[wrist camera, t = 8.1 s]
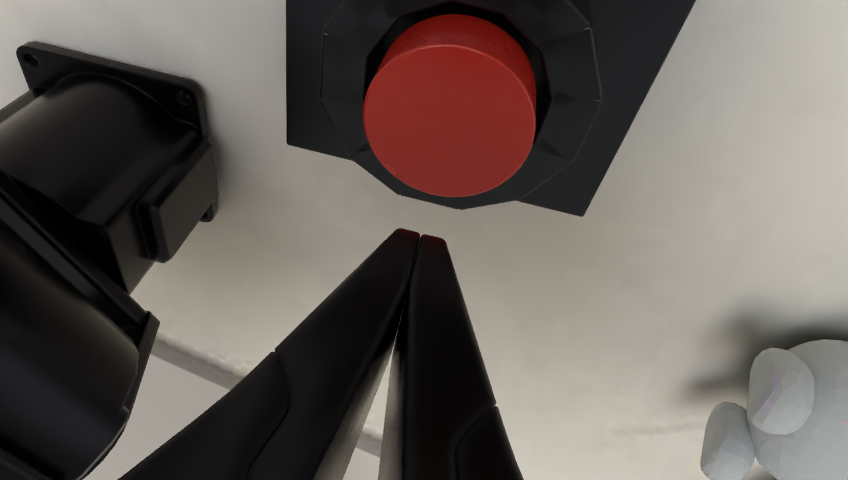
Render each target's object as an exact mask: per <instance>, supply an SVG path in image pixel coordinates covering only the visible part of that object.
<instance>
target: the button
mask: <svg viewBox="0 0 848 480" xmlns="http://www.w3.org/2000/svg"><path fill="white" fill-rule="evenodd" d="M363 121H364V128H365V132H366V136H367V139H368V142H369V144H370V147H371V148H372V150H373V152H374V154H375V155H376V157H377V158H378V160H379V161H380V162H381V164H382V165H383V166H384V167H385V168H386V169H387V170H388V171H389V172H390V173H391V174H393V175H394V176H395V177H396V178H398V179H399V180H400V181H402V182H403V183H405V184H407V185H409V186H411V187H413V188H415V189H417V190H420V191H422V192H426V193H429V194H433V195H438V196H446V197H464V196H471V195H476V194H480V193H483V192H486V191H488V190H491V189H493V188H495V187H497V186H499V185H500V184H502V183H503V182H505V181H506V180H508V179H509V178H510V177H511V176H512V175H513V174H515V173H516V171H517V170H518V169H519V168H520V167H521V166H522V164H523V163H524V161H525V160H526V158H527V156H528V154H529V152H530V150H531V148H532V144H533V141H534V136H535V129H536V81H535V75H534V72H533V68H532V65H531V63H530V61H529V59H528V57H527V55H526V53H525V52H524V50H523V49H522V47H521V46H520V45H519V44H518V43H517V41H516V40H515V39H514V38H513V37H512V36H510V35H509V34H508V33H507V32H506V31H504V30H503V29H501V28H500V27H498V26H497V25H495V24H493V23H491V22H489V21H487V20H484V19H481V18H478V17H474V16H469V15H462V14H447V15H439V16H435V17H431V18H428V19H425V20H422V21H420V22H418V23H416V24H414V25H413V26H411V27H409V28H408V29H407V30H405V31H404V32H403V33H402V34H401V35H400V36H399V37H398V38H397V39H396V40H395V41H394V42H393V43H392V45H391V46H390V48H389V49H388V51H387V53H386V55H385V57H384V59H383V60H382V62H381V64H380V66H379V68H378V70H377V72H376V74H375V76H374V78H373V80H372V82H371V84H370V86H369V88H368V91H367V94H366V97H365V101H364V107H363Z"/></svg>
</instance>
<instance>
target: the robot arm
mask: <svg viewBox="0 0 848 480" xmlns="http://www.w3.org/2000/svg"><path fill="white" fill-rule="evenodd" d="M16 53H17V58H18V60H19V63H20V66H21V68H22V71H23V74H24V76H25V79H26V82H27V84H28V87H29V91H28V92H26V93H25V94H23V95H22V96H20V97H19V98H17V99H16V100H14V101H13V102H11V103H10V104H8V105H7V106H5V107H4V108H2V109H1V110H0V480H82V479H84V478H85V477H86V476H87V475H89V474H90V472H92V471H93V470H94V469H95V468H96V467H97V466H98V465H99V464H100V463H101V462H102V461H103V460H104V458H105V457H106V456H107V455H108V453H109V452H110V451H111V450H112V448H113V447H114V446H115V444H116V443H117V441H118V439H119V438H120V436H121V435H122V433H123V431H124V429H125V427H126V424H127V422H128V420H129V417H130V414H131V411H132V408H133V404H134V402H135V399H136V395H137V392H138V389H139V386H140V383H141V380H142V377H143V373H144V371H145V368H146V364H147V361H148V358H149V355H150V352H151V349H152V346H153V343H154V340H155V337H156V334H157V330H158V327H159V324H160V321H159V320H158V319H157V318H156V317H155V316H154V315H153V314H152V313H151V312H150V311H145V310H144V309H143V308H142V307H141V306H140V305H139V304H138V303H137V302H136V301H135V300H134V299H133V298H132V297H131V296H130V294H131V293H132V291H133V290H134V289H135V287H136V286H137V285H138V283H139V282H140V281H141V279H142V278H143V277H144V275H145V274H146V273H147V271H148V270H149V269H150V267H151V266H152V265H153V263H154V262H155V261H156V262H160V263H165V262H167V261H169V260H170V259H171V258H172V257H173V256H174V254H175V253H176V252H177V250H178V249H179V248H180V246H181V245H182V243H183V242H184V241H185V239H186V238H187V237H188V235H189V234H190V232H191V231H192V230H193V228H194V227H195V226H196V224H197V223H198V221H202V222H210V221H212V220H213V218H214V217H215V215H216V214H217V202H216V197H217V195H218V184H217V176H216V167H215V159H214V151H213V145H212V143H211V141H210V140H209V139H208V131H207V123H206V115H205V107H204V100H203V94H202V91H201V89H200V88H199V87H198V85H196V84H195V83H194V82H192V81H190V80H188V79H184V78H180V77H175V76H171V75H167V74H163V73H159V72H155V71H151V70H147V69H143V68H139V67H135V66H131V65H127V64H123V63H118V62H114V61H110V60H106V59H102V58H98V57H94V56H90V55H86V54H82V53H78V52H74V51H70V50H66V49H61V48H57V47H53V46H49V45H45V44H41V43H37V42H27V43H26V44H24V45H22V46H20V47H19V48H17V51H16ZM33 56H34V57H35V58H36V59H37V60H36V59H35V58H34V57H33ZM183 91H184V92H186V93H187V94H188V95H189V96H190V98H191V99H190V98H188V97H186V96H185V95H184V94H183ZM419 241H420V242H419ZM418 245H419V246H418ZM417 249H418V250H417ZM416 253H417V254H416ZM415 257H416V258H415ZM404 302H405V303H404ZM403 306H404V307H403ZM402 310H403V311H402ZM401 314H402V315H401ZM400 318H401V319H400ZM399 322H400V323H399ZM398 326H399V327H398ZM397 330H398V332H397ZM396 335H397V336H396ZM395 339H396V340H395ZM394 342H395V345H394ZM393 346H394V349H393ZM392 349H393V355H392V362H391V369H390V378H389V387H388V396H387V405H386V413H385V422H384V431H383V440H382V449H381V457H380V466H379V475H378V480H524V479H523V477H522V474H521V472H520V470H519V467H518V465H517V462H516V460H515V457H514V454H513V451H512V448H511V445H510V442H509V440H508V437H507V434H506V431H505V428H504V425H503V422H502V418H501V415H500V412H499V409H498V407H497V406H495V405H496V400H495V397H494V394H493V391H492V387H491V384H490V381H489V378H488V375H487V371H486V368H485V365H484V362H483V359H482V356H481V352H480V349H479V346H478V343H477V340H476V337H475V333H474V330H473V327H472V324H471V321H470V317H469V314H468V311H467V308H466V305H465V302H464V298H463V295H462V292H461V289H460V286H459V282H458V279H457V276H456V273H455V270H454V267H453V263H452V260H451V257H450V254H449V251H448V247H447V244H446V242H445V240H444V239H442V238H439V237H434V236H430V235H426V234H424V235H422V236H421V238H420V234H419V233H418V232H414V231H410V230H406V229H402V228H399V229H397V230H395V231H394V232H393V233H392V234H391V235H390V236H389V237H388V238H387V239H386V240H385V241H384V242H383V243H382V244H381V245H380V246H379V247H378V248H377V249H376V250H375V251H374V252H373V253H372V254H371V255H370V256H369V257H368V258H367V259H366V260H365V261H364V262H363V263H362V264H361V265H359V266H358V267H357V268H356V269H355V270H354V271H353V272H352V273H351V274H350V275H349V276H348V277H347V278H346V279H345V280H344V281H343V282H342V283H341V284H340V285H339V286H338V287H337V288H336V289H335V290H334V291H333V292H332V293H331V294H330V295H329V296H328V297H327V298H326V299H325V300H324V301H323V302H322V303H321V304H320V305H319V306H318V307H317V308H316V309H315V310H314V311H313V312H312V313H311V314H310V315H309V316H308V317H307V318H306V319H305V320H304V321H302V322H301V323H300V324H299V325H298V326H297V327H296V328H295V329H294V330H293V331H292V332H291V333H290V334H289V335H288V336H287V337H286V338H285V339H284V340H283V341H282V342H281V343H280V344H279V345H278V346H277V347H276V348H275V352H271V353H270V354H269V355H268V356H267V357H266V358H265V359H264V360H263V361H261V362H260V363H259V364H258V365H257V366H256V367H255V368H254V369H253V370H252V371H251V372H250V373H249V374H248V375H247V376H246V377H245V378H243V379H242V380H241V381H240V382H239V383H238V384H237V385H236V386H235V387H234V388H233V389H232V390H230V392H228V393H227V394H226V395H225V396H224V397H222V398H221V399H220V400H218V401H217V402H216V403H215V404H214V405H212V406H211V407H210V408H209V409H208V410H206V411H205V412H204V413H203V414H201V415H200V416H199V417H198V418H197V419H195V420H194V421H193V422H191V423H190V424H189V425H187V426H186V427H185V428H184V429H183V430H181V431H180V432H178V433H177V434H176V435H175V436H173V437H172V438H171V439H169V440H168V441H167V442H166V443H164V444H163V445H162V446H160V448H158V449H157V450H155V451H154V452H153V453H151V454H150V455H149V456H148V457H146V458H145V459H144V460H142V461H141V462H140V463H139V464H137V465H136V466H135V467H134V468H132V469H131V470H130V471H128V472H127V473H126V474H124V475H123V476H122V477H121V478H119V479H118V480H342V479H343V477H344V474H345V472H346V469H347V466H348V464H349V462H350V459H351V456H352V453H353V451H354V449H355V446H356V444H357V441H358V438H359V436H360V433H361V431H362V428H363V426H364V423H365V421H366V418H367V415H368V413H369V410H370V408H371V405H372V403H373V400H374V397H375V395H376V392H377V390H378V387H379V385H380V382H381V379H382V377H383V374H384V372H385V369H386V367H387V364H388V361H389V358H390V356H391V353H392Z"/></svg>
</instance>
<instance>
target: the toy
mask: <svg viewBox="0 0 848 480" xmlns="http://www.w3.org/2000/svg"><path fill="white" fill-rule="evenodd" d="M755 456H756V458H757V460H758V462H759V463H760V464H761V465H762V466H763V467H764V469H765V470H766V471H767V472H769V473H770V474H771V475H772V476H773V477H775V478H776V479H777V480H848V342H845V341H840V340H827V339H823V340H816V341H810V342H805V343H803V344H800V345H798V346H795V347H792V348H790V349H788V350H783V349H779V348H769V349H766V350H763V351H761V353H760V354H759V355H758V356H757V357H756V358H755V360H754V362H753V365H752V367H751V371H750V382H749V393H748V405H747V411H746V410H745V409H744V408H743V407H742V406H740V405H738V404H736V403H732V402H723V403H721V404H719V405H718V406H716V407H715V408H714V409H713V410H712V412H711V414H710V416H709V419H708V422H707V425H706V428H705V435H704V442H703V448H702V455H701V470H702V471H703V473H704V474H705V475H706V476H707V477H708V478H710V479H711V480H742V479H743V478H744V476H745V475H746V474H747V473H748V472H749V470H750V469H751V467H752V464H753V462H754V457H755Z"/></svg>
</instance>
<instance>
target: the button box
mask: <svg viewBox="0 0 848 480" xmlns="http://www.w3.org/2000/svg"><path fill="white" fill-rule="evenodd" d="M695 1H696V0H286V114H287V144H288V145H291V146H295V147H299V148H303V149H307V150H311V151H315V152H319V153H324V154H328V155H332V156H336V157H340V158H344V159H348V160H352V161H354V162H356V163H357V164H358V165H360V166H361V167H362V168H364V169H365V170H366V171H368V172H369V173H370V174H372V175H373V176H374V177H376V178H377V179H378V180H379V181H381V182H382V183H383V184H385V185H386V186H387V187H389V188H390V189H391V190H393V191H394V192H395V193H397V194H398V195H402V196H405V197H410V198H414V199H418V200H422V201H426V202H430V203H434V204H438V205H442V206H446V207H450V208H454V209H459V208H460V210H463V209H469V208H475V207H481V206H486V205H492V204H498V203H504V202H510V201H519V202H523V203H527V204H531V205H536V206H540V207H544V208H548V209H552V210H556V211H560V212H564V213H568V214H572V215H576V216H580V217H583V216H584V214H585V212H586V210H587V208H588V207H589V205H590V203H591V201H592V199H593V197H594V195H595V193H596V191H597V189H598V187H599V185H600V184H601V182H602V180H603V178H604V176H605V174H606V172H607V170H608V168H609V166H610V164H611V162H612V161H613V159H614V157H615V155H616V153H617V151H618V149H619V147H620V145H621V143H622V141H623V139H624V137H625V136H626V134H627V132H628V130H629V128H630V126H631V124H632V122H633V120H634V118H635V116H636V114H637V113H638V111H639V109H640V107H641V105H642V103H643V101H644V99H645V97H646V95H647V93H648V91H649V90H650V88H651V86H652V84H653V82H654V80H655V78H656V76H657V74H658V72H659V70H660V68H661V67H662V65H663V63H664V61H665V59H666V57H667V55H668V53H669V51H670V49H671V47H672V45H673V43H674V42H675V40H676V38H677V36H678V34H679V32H680V30H681V28H682V26H683V24H684V22H685V20H686V19H687V17H688V15H689V13H690V11H691V9H692V7H693V5H694V3H695ZM447 14H462V15H469V16H474V17H478V18H481V19H484V20H487V21H489V22H491V23H493V24H495V25H497V26H498V27H500V28H501V29H503V30H504V31H506V32H507V33H508V34H509V35H510V36H512V37H513V38H514V39H515V40H516V41H517V43H518V44H519V45H520V46H521V47H522V49H523V50H524V52H525V53H526V55H527V57H528V59H529V61H530V63H531V65H532V68H533V72H534V75H535V81H536V129H535V136H534V141H533V144H532V148H531V150H530V152H529V154H528V156H527V158H526V160H525V161H524V163H523V164H522V166H521V167H520V168H519V169H518V170H517V171H516V173H515V174H513V175H512V176H511V177H510V178H509V179H508V180H506V181H505V182H503V183H502V184H500V185H499V186H497V187H495V188H493V189H491V190H488V191H486V192H483V193H480V194H476V195H471V196H464V197H446V196H438V195H433V194H429V193H426V192H422V191H420V190H417V189H415V188H413V187H411V186H409V185H407V184H405V183H403V182H402V181H400V180H399V179H398V178H396V177H395V176H394V175H393V174H391V173H390V172H389V171H388V170H387V169H386V168H385V167H384V166H383V165H382V164H381V162H380V161H379V160H378V158H377V157H376V155H375V154H374V152H373V150H372V148H371V147H370V144H369V142H368V139H367V136H366V132H365V128H364V121H363V107H364V101H365V97H366V94H367V91H368V88H369V86H370V84H371V82H372V80H373V78H374V76H375V74H376V72H377V70H378V68H379V66H380V64H381V62H382V60H383V59H384V57H385V55H386V53H387V51H388V49H389V48H390V46H391V45H392V43H393V42H394V41H395V40H396V39H397V38H398V37H399V36H400V35H401V34H402V33H403V32H404V31H405V30H407V29H408V28H409V27H411V26H413V25H414V24H416V23H418V22H420V21H422V20H425V19H428V18H431V17H435V16H439V15H447Z"/></svg>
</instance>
